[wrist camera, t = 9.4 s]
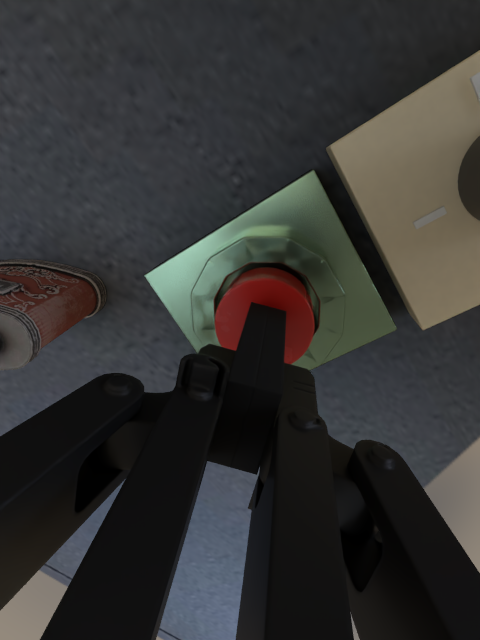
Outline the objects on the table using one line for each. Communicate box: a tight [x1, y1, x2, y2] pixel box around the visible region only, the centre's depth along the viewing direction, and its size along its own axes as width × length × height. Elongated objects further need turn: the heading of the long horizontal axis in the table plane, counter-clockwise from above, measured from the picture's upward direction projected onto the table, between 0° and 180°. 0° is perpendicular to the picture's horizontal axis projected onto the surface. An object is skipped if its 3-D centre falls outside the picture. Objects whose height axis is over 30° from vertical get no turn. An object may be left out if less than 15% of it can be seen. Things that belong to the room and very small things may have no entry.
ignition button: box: [215, 267, 315, 364], centre depth 19 cm, size 4×4×2 cm
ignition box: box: [144, 169, 397, 371], centre depth 21 cm, size 10×9×4 cm
